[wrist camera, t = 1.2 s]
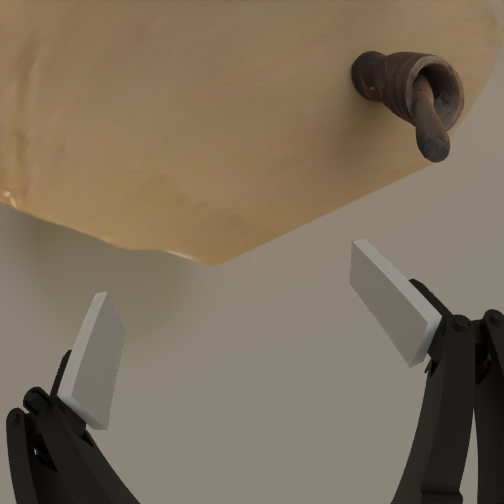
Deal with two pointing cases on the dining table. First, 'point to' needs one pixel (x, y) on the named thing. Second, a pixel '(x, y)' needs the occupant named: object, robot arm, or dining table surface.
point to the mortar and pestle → (414, 94)
